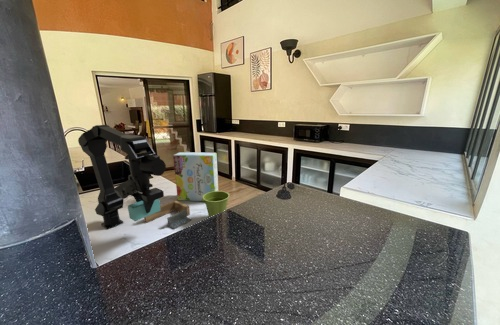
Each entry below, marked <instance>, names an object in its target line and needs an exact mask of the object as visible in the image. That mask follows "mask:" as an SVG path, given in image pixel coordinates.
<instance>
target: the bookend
mask: <svg viewBox="0 0 500 325" xmlns="http://www.w3.org/2000/svg"><path fill="white" fill-rule="evenodd" d="M166 219H167V227H169V228H170V229H172V230H175V229H179V228H180V227H182V226H183V225H186V224H188V223H189V222H191V221H192V218H190V217H188V216H187V211H186V210H183V211H181V212H177V213H174V214H172V215H171V216H168V217H167V218H166Z"/></svg>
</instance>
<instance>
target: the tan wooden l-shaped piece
mask: <svg viewBox="0 0 500 325" xmlns="http://www.w3.org/2000/svg"><path fill="white" fill-rule="evenodd" d="M160 209H161V211H159V212H156V213H154V214H151V215H149V216H147V217H144V218H143V219H144V223H146V224H148V223H150V222H152V221H154V220H157V219H160V218H161V217H163V216H166V215H167V214H170V213H172V212H174V211H176V212H177V213H179V212H181V211H183V210H186V211H187V217H188V216H190V215H191V212H190V206H189V205H187V204H186V203H183V202H181V201H179V200H175V199H174V200H172V201H170V202H167V203H165V204H162V205H160Z"/></svg>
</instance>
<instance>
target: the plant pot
mask: <svg viewBox="0 0 500 325" xmlns="http://www.w3.org/2000/svg"><path fill="white" fill-rule="evenodd" d="M229 198H230V193H229V192H226V191H223V190H218V191H213V192H209V193H206V194H205V195H203V199H204V201H203V202H204V204H205V207H206V211H207V215H208V218H209V217H211V216H213V215H216V214H218V213H221V212H223V211H224V210H226V211H227V207H228V201H229Z"/></svg>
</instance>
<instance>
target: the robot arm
mask: <svg viewBox="0 0 500 325" xmlns="http://www.w3.org/2000/svg"><path fill="white" fill-rule="evenodd" d="M77 142H78V144H79V146H80V148H81V150H82V151H83V152H84V153H85V154H86V155H87V156H88V157H89V158H90V162H91V165H92V168H93V170H94V171H93V172H94V175H95V178H96V181H97V184H98V188H99V192H98V196H97V201H98V203H97V206H96V207H95V209H94V211H95V212H96V215H98V216H101V217H102V219H103V220H102V221H103V222H101V226H102V227H104V228H105V229H106V230H109V229H112V228H114V227H116V226H119V225H121V224H123V223H124V221H123V220H122V219H121V218H120V213H119V210H121V209H123V208H124V199H127V198H128V197H130V196H131V197H133V198H134V200H135V201H136V202H135V203H137V202H139V201H143V203H144V207H145V210H146V213H149V212H150V210H151V208H152V205H153V203H154V201H155V200H156V199H159V200H160V199H161V198H162V199H163V198H164V195H165V194H164V190H162V189H161V188H158V187H153V186H154V185H153V184H152V182H150V177H152V176H156V177H158V176H159V177H160V176H162V175H163V174H164V173H165V171H166V168H167V165H166V163H165V161H164V160H163V159H161V158H160V157H161V156H160V155H159V154H158V155H157V154H156V152H155V150H154V149H153V147H152V145H151V144H150V143H149V141H148V140H147V138H146V137H145V136H142V135H137V134H136V135H135V134H127V133H125V132H122V131H120V130H119V129H118V130H117V129H115V128H114V127H112V126H110V125H108V124H97V125H94V126H92V127H91V128H90V129H88V130H86V131H84V132H83V133H81V135H80V136H79V137H78V140H77ZM107 142H111V143H112V144H116V145H118V146H119V147H120V150H121V151H123V153H125V154H126V156H124V160H128V164H129V165H128V166H129V171H130V174H128V177H127V178H128V179H127V180H125V181H123V182H122V183H120V184H119V185H117V186H116V187H115V186H114V183H113V179H112V175H111V173H110V169H109V165H108V162H107V159H106V155H105V153H106V151H107V148H108V145H107ZM152 187H153V188H152Z"/></svg>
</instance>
